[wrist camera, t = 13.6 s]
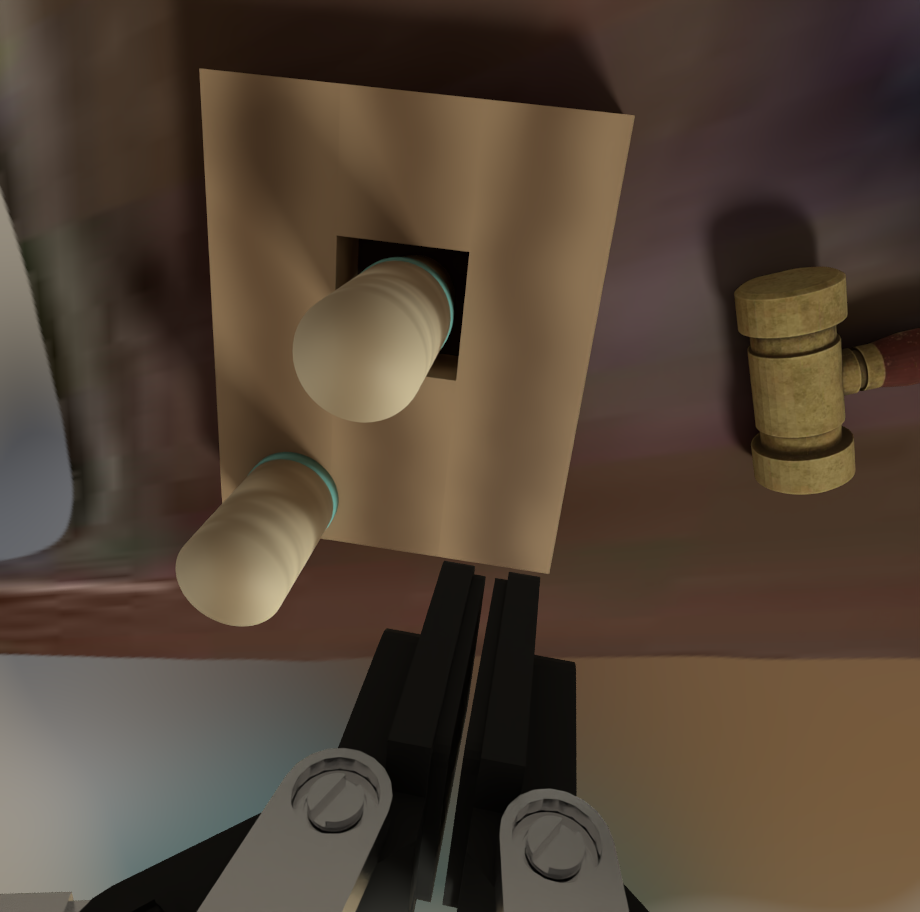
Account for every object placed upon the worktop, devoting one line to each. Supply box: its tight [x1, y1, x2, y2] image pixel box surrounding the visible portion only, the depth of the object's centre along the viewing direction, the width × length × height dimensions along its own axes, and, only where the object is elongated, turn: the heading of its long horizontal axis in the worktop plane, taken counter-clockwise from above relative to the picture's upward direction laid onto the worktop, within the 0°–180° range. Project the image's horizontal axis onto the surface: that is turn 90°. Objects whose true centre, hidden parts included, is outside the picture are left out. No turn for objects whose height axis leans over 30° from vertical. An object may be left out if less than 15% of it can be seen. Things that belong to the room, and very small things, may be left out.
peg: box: [293, 255, 455, 423], centre depth 30 cm, size 5×5×12 cm
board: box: [176, 68, 635, 626], centre depth 31 cm, size 18×22×12 cm
